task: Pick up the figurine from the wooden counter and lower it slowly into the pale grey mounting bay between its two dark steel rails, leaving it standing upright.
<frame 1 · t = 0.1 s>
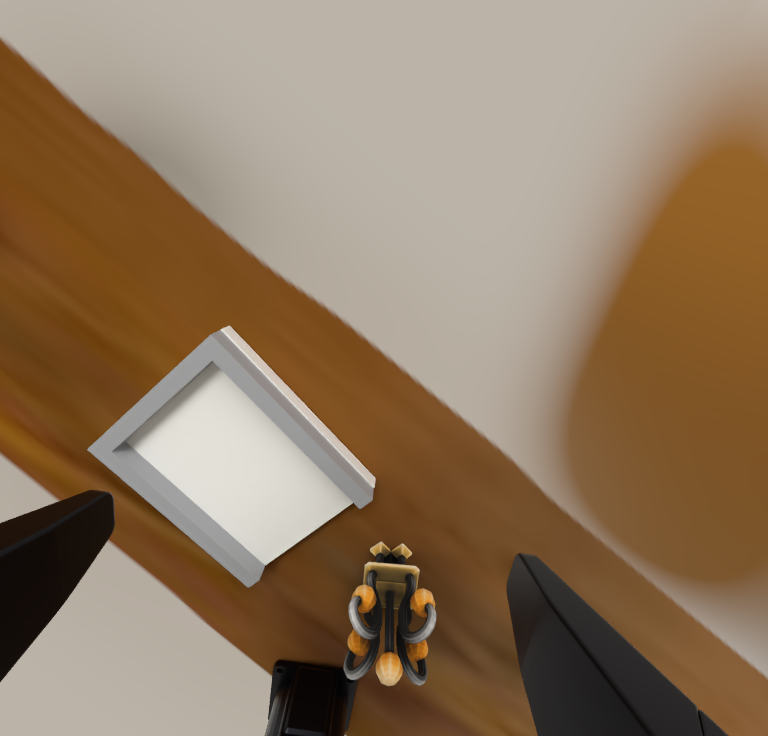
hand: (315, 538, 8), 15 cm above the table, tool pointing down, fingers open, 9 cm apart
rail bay: (245, 455, 24), on the table
figurine: (389, 556, 27), on the table
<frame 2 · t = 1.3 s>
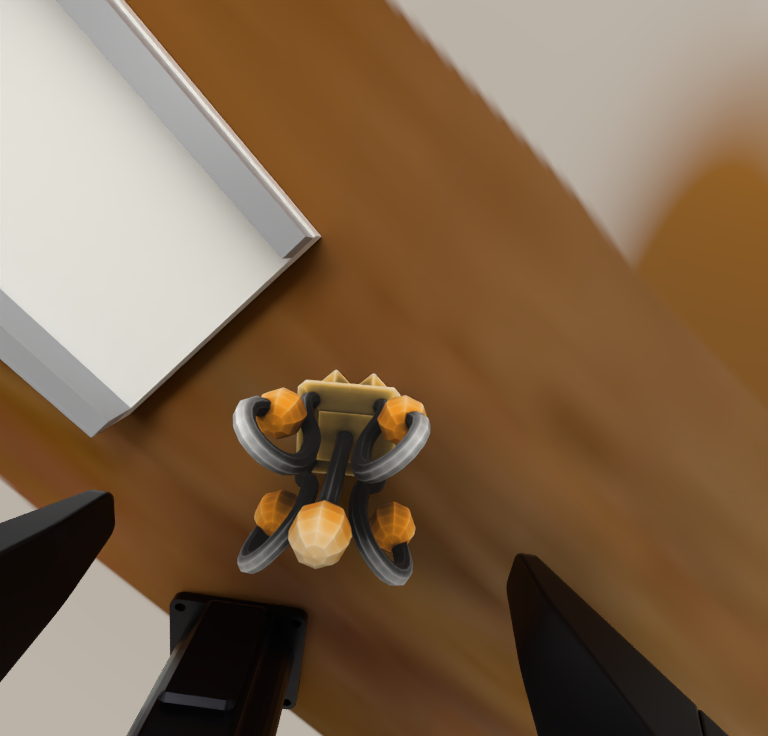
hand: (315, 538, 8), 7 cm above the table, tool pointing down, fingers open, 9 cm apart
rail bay: (81, 190, 13), on the table
figurine: (353, 403, 16), on the table
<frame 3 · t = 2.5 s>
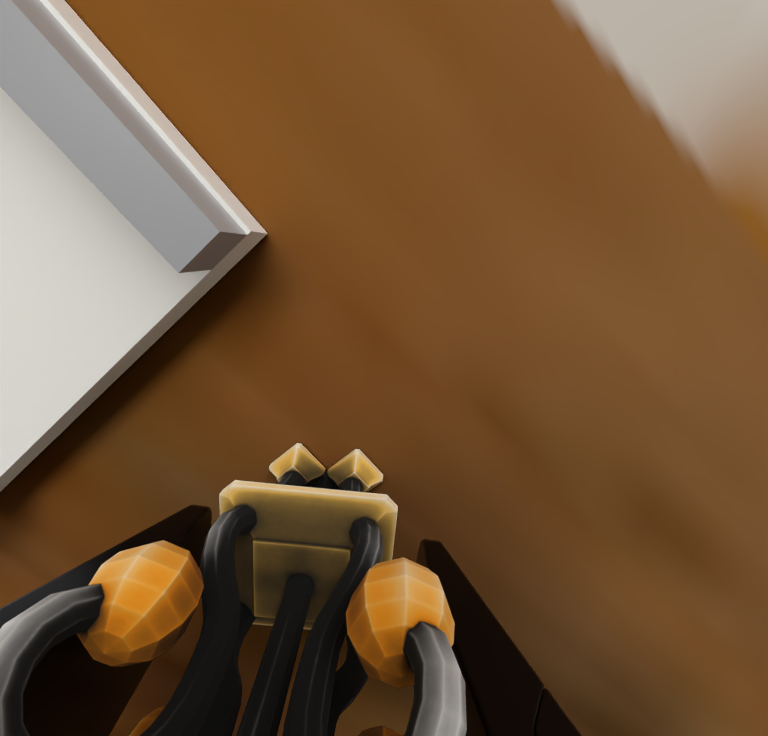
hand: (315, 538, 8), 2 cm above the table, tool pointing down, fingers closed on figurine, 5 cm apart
figurine: (326, 489, 10), on the table, touching gripper
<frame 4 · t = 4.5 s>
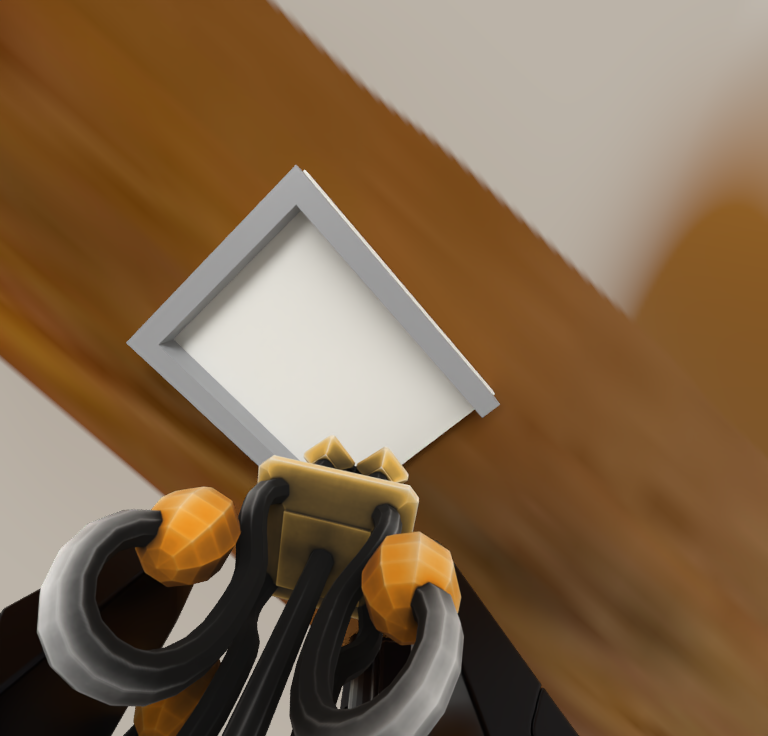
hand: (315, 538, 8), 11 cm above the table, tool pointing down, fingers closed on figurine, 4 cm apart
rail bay: (324, 360, 19), on the table
figurine: (353, 483, 11), point 9 cm above the table, touching gripper
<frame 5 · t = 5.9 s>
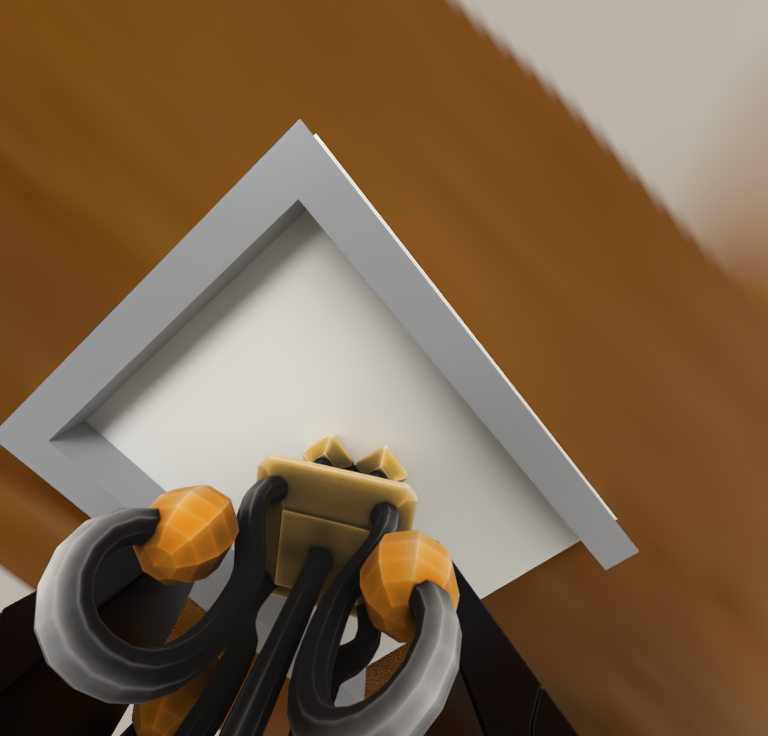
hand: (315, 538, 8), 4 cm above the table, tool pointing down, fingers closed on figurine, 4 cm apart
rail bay: (337, 452, 12), on the table
figurine: (353, 482, 11), point 1 cm above the table, touching gripper
when the fingers open (4 cm above the table, at t = 6.6 s): figurine stays where it is, resting on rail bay.
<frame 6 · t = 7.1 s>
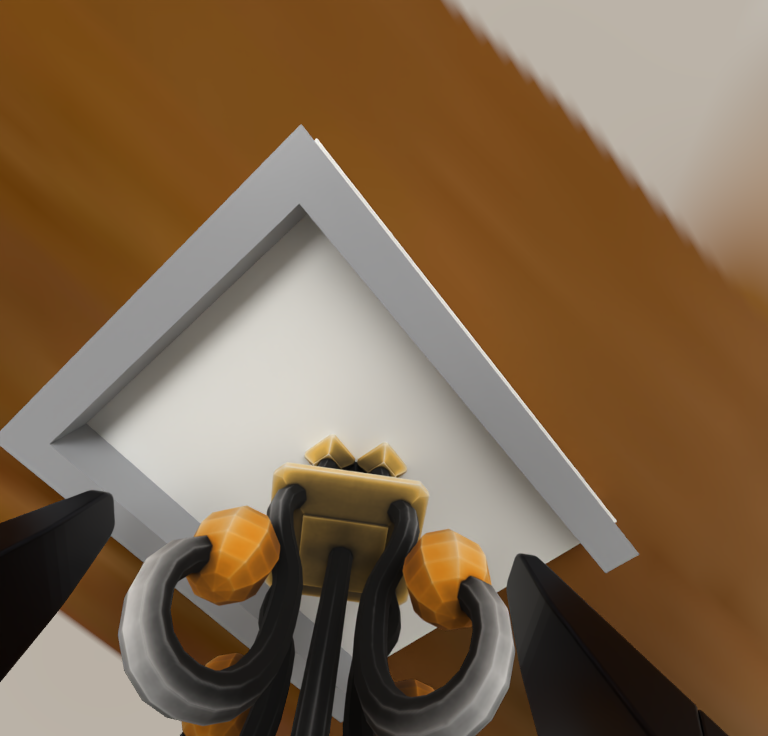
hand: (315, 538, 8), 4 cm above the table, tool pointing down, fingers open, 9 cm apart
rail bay: (337, 454, 12), on the table
figurine: (353, 477, 11), point 1 cm above the table, touching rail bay
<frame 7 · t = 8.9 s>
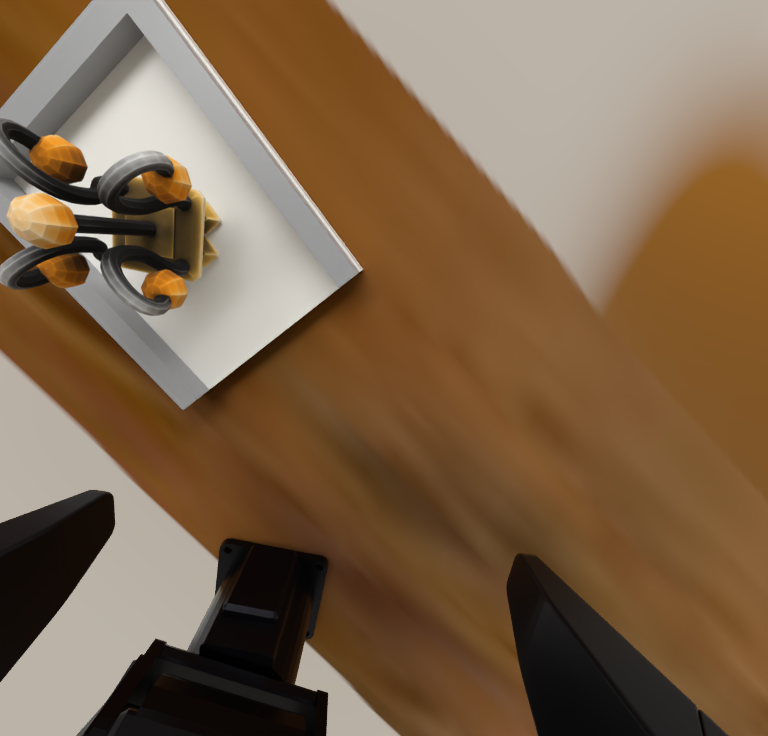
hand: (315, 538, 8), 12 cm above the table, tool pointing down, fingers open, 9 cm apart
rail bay: (186, 225, 18), on the table
figurine: (190, 232, 17), point 1 cm above the table, touching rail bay
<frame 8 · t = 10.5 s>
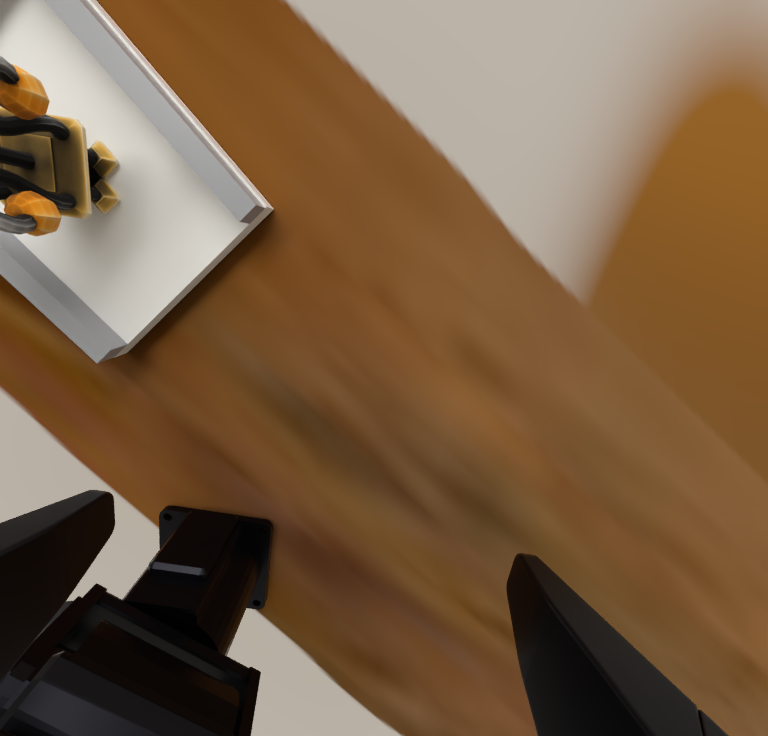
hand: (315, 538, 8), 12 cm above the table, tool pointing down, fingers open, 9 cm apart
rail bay: (90, 173, 17), on the table
figurine: (90, 177, 17), point 1 cm above the table, touching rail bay
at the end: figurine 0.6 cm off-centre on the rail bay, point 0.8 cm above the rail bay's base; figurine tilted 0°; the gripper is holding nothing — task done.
